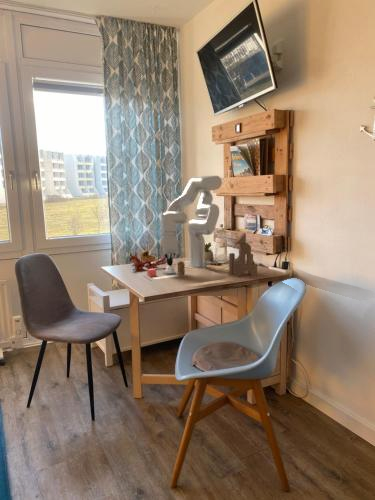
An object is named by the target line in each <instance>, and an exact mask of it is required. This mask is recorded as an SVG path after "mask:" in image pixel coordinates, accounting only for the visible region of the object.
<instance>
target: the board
mask: <svg viewBox="0 0 375 500" xmlns="http://www.w3.org/2000/svg"><path fill="white" fill-rule="evenodd" d="M146 270H147V271H146V273H147V274H146V276H145V275H142V277H144V278H145V279H147V280H149V281H151V282H152V280H151V279H150V278H152V279H153V280H161V279H162V280H163V279H167V278H177V277H180V276H179V275H178V272H175V273H174V274H166V272H162V276H157V269H156V268H155V267H154V268H152V269H147V268H146ZM147 276H148V277H150V278H148V277H147ZM184 276H186V274H185V275H183V277H184Z"/></svg>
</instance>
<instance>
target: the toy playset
mask: <svg viewBox="0 0 375 500" xmlns="http://www.w3.org/2000/svg"><path fill="white" fill-rule="evenodd" d="M134 252H135V254H134V255H132V253H131V252H130V253H129V256H130V257H129V261H130V262H132V263H133V264H130V266H131V267H134V268H132V269H131V271H138V272H147V269H152V268H154V269H155V268H156V266H163V265H166V264H167V258H166V257H165V256H163V257H162V258H160V259H158V260H156V256H157V253H152V254H150V252H149V251H148V250H144V251H142V252H141V253H140V258H138V253H137V251H136V250H135V251H134ZM145 268H146V269H145Z"/></svg>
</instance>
